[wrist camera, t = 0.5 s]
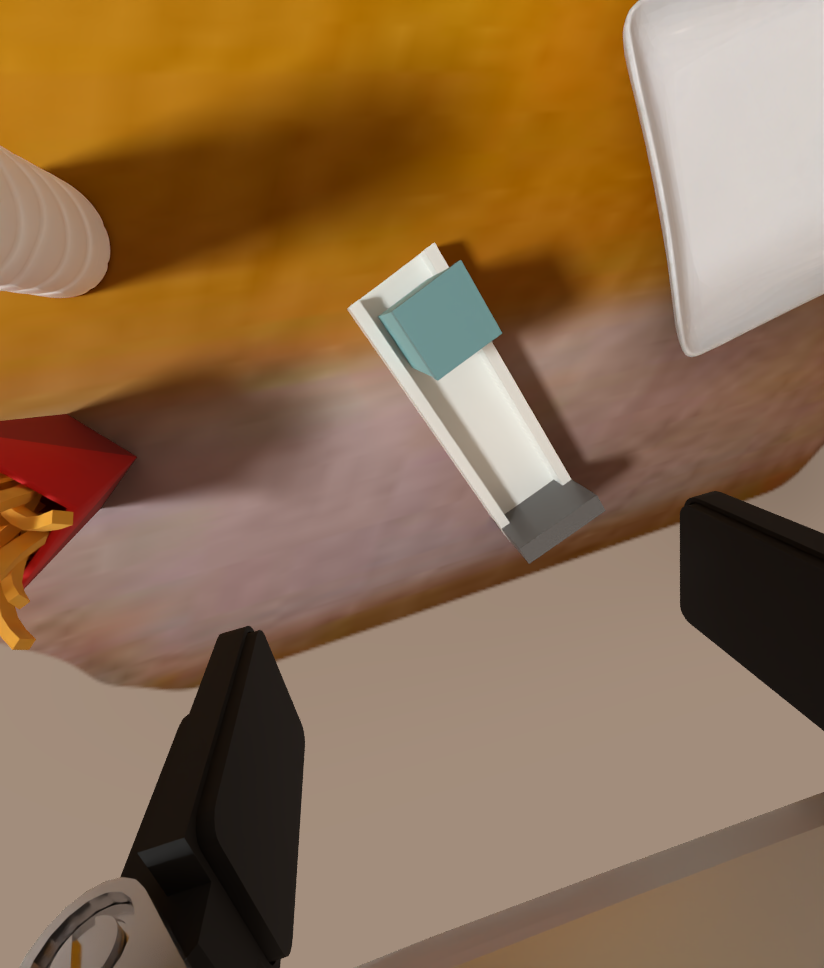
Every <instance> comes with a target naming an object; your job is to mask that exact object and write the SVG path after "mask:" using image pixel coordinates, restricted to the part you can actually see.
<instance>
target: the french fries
mask: <svg viewBox="0 0 824 968" xmlns="http://www.w3.org/2000/svg"><path fill="white" fill-rule="evenodd" d="M136 458H137V456H135V455H133V454H132V453H130V452H128V451H127V450H125V449H123V448H122V447H120V446H118V445H117V444H115V443H114V442H112V441H110V440H109V439H107V438H105V437H104V436H102V435H100V434H99V433H97V432H95V431H94V430H92V429H91V428H89V427H87V426H86V425H84V424H82V423H81V422H79V421H77V420H76V419H74V418H72V417H71V416H69V415H68V414H62V415H53V416H43V417H34V418H25V419H15V420H6V421H0V635H1V637H2V639H3V640H4V641H5V642H6V643H7V644H8V645H9V646H10V647H11V649H12V650H29V649H30V648H31V646H32V644H33V643H34V641H35V640H36V639H35V638H34V637H33V636H32V635H31V634H30V633H29V632H28V631H27V630H26V629H25V627H24V626H23V624H22V623H21V621H20V620H19V618H18V616H17V612H16V609H15V607H16V608H18V609H21V608H22V607H23V606H25V605H26V604H27V603H29V602H30V600H29V599H28V597H27V595H26V594H25V592H24V589H25V587H26V586H27V585H28V584H29V583H30V582H31V581H32V580H33V579H34V578H35V577H36V576H37V575H38V574H39V573H40V572H41V571H42V570H43V568H44V567H45V566H46V565H47V564H48V563H49V562H50V561H51V560H52V559H53V558H54V557H55V556H56V555H57V554H58V553H59V552H60V551H61V550H62V548H63V547H64V546H65V545H66V544H67V543H68V542H69V541H70V540H71V539H72V538H73V537H74V536H75V535H76V534H77V533H78V532H79V531H80V530H81V528H82V527H83V526H84V525H85V524H86V523H87V522H88V521H89V520H90V519H91V518H92V517H93V516H94V515H95V514H96V513H97V512H98V511H99V510H100V508H101V507H102V505H103V504H104V503H105V501H106V500H107V498H108V497H109V496H110V494H111V493H112V491H113V490H114V489H115V487H116V486H117V484H118V483H119V482H120V480H121V479H122V477H123V476H124V475H125V473H126V472H127V470H128V469H129V468H130V466H131V465H132V463H133V462H134V461H135V459H136Z"/></svg>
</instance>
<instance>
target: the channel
mask: <svg viewBox="0 0 824 968" xmlns="http://www.w3.org/2000/svg"><path fill="white" fill-rule="evenodd" d="M447 268H449V267H448V265H447V263H446V261H445V260H444V258H443V256H442V254H441V253H440V251H439V249H438V248H437V246H436V244H435V242H434V243H433V244H432V245H430V246H429V247H428V248H426V249H425V250H424V251H423V252H421V253H420V254H419V255H418V256H416V257H415V258H414V259H412V260H411V261H410V262H409V263H407V264H406V265H405V266H403V267H402V268H401V269H399V270H398V271H397V272H395V273H394V274H393V275H391V276H390V277H389V278H387V279H386V280H385V281H383V282H382V283H381V284H379V285H378V286H377V287H376V288H374V289H373V290H372V291H370V292H369V293H368V294H366V295H365V296H364V297H362V298H361V299H360V300H358V301H356V302H355V303H354V304H352V305H351V306H350V307H348V309H347V310H348V311H349V313H350V314H351V316H352V317H353V318H354V320H355V321H356V323H357V324H358V326H359V327H360V329H361V330H362V331H363V333H364V334H365V336H366V337H367V339H368V340H369V341H370V343H371V344H372V346H373V347H374V349H375V350H376V352H377V353H378V354H379V356H380V357H381V359H382V360H383V362H384V363H385V365H386V366H387V367H388V369H389V370H390V372H391V373H392V375H393V376H394V378H395V379H396V380H397V382H398V383H399V385H400V386H401V388H402V389H403V390H404V392H405V393H406V395H407V396H408V398H409V399H410V401H411V402H412V403H413V405H414V406H415V408H416V409H417V411H418V412H419V414H420V415H421V416H422V418H423V419H424V421H425V422H426V424H427V425H428V427H429V428H430V429H431V431H432V432H433V434H434V435H435V437H436V438H437V440H438V441H439V442H440V444H441V445H442V447H443V448H444V450H445V451H446V452H447V454H448V455H449V457H450V458H451V460H452V461H453V463H454V464H455V465H456V467H457V468H458V470H459V471H460V473H461V474H462V476H463V477H464V478H465V480H466V481H467V483H468V484H469V486H470V487H471V489H472V490H473V491H474V493H475V494H476V496H477V497H478V499H479V500H480V501H481V503H482V504H483V506H484V507H485V509H486V510H487V512H488V513H489V514H490V516H491V517H492V519H493V520H494V522H495V523H496V525H497V526H498V527H499V529H500V530H501V531H502V532H503V534H504V535H505V536H506V537H507V538H508V540H509V541H510V542H511V543H512V544H513V545H514V547H515V548H516V549H517V550H518V551H519V552H520V554H521V555H522V556H523V557H524V558H525V560H526V561H527V562H528V563H529V564H530V563H531V562H532V561H534V560H535V559H537V558H538V557H540V556H541V555H542V554H544V553H545V552H547V551H548V550H550V549H551V548H552V547H554V546H555V545H557V544H558V543H560V542H561V541H563V540H564V539H565V538H567V537H568V536H570V535H571V534H573V533H574V532H575V531H577V530H578V529H580V528H581V527H583V526H584V525H585V524H587V523H588V522H590V521H591V520H593V519H594V518H595V517H597V516H598V515H600V514H601V513H603V512H604V511H605V509H604V507H603V505H602V504H601V502H600V500H599V498H598V496H597V495H596V494H594V493H593V492H591V491H589V490H588V489H586V488H584V487H583V486H581V485H580V484H578V483H576V482H575V481H573V480H572V479H571V478H570V476H569V474H568V473H567V471H566V469H565V467H564V466H563V464H562V462H561V460H560V459H559V457H558V455H557V454H556V452H555V450H554V448H553V447H552V445H551V443H550V441H549V440H548V438H547V436H546V435H545V433H544V431H543V429H542V428H541V426H540V424H539V422H538V421H537V419H536V417H535V415H534V414H533V412H532V410H531V409H530V407H529V405H528V403H527V402H526V400H525V398H524V396H523V395H522V393H521V391H520V389H519V388H518V386H517V384H516V383H515V381H514V379H513V377H512V376H511V374H510V372H509V370H508V369H507V367H506V365H505V364H504V362H503V360H502V358H501V357H500V355H499V353H498V351H497V350H496V348H495V346H494V344H493V343H492V341H491V342H490V343H489V344H487V345H486V346H485V347H483V348H482V349H480V350H479V351H478V352H476V353H475V354H474V355H472V356H471V357H470V358H468V359H467V360H465V361H464V362H463V363H461V364H460V365H459V366H457V367H456V368H455V369H453V370H452V371H451V372H449V373H448V374H446V375H445V376H444V377H442V378H441V379H440V380H438V381H437V380H435V379H434V378H433V377H432V376H429V375H427V374H425V373H423V372H420V371H418V370H416V369H414V368H412V367H411V366H410V364H409V363H408V361H407V360H406V358H405V357H404V355H403V354H402V352H401V351H400V349H399V348H398V346H397V345H396V343H395V342H394V340H393V339H392V337H391V336H390V334H389V333H388V331H387V330H386V328H385V327H384V325H383V324H382V322H381V321H380V319H379V318H378V316H379V315H380V314H382V313H383V312H384V311H386V310H387V309H388V308H390V307H391V306H392V305H394V304H395V303H396V302H398V301H399V300H400V299H402V298H403V297H404V296H406V295H407V294H408V293H410V292H411V291H412V290H414V289H415V288H416V287H418V286H419V285H420V284H422V283H423V282H424V281H426V280H427V279H429V278H431V277H432V276H434V275H436V274H438V273H440V272H442V271H444V270H445V269H447Z"/></svg>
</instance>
